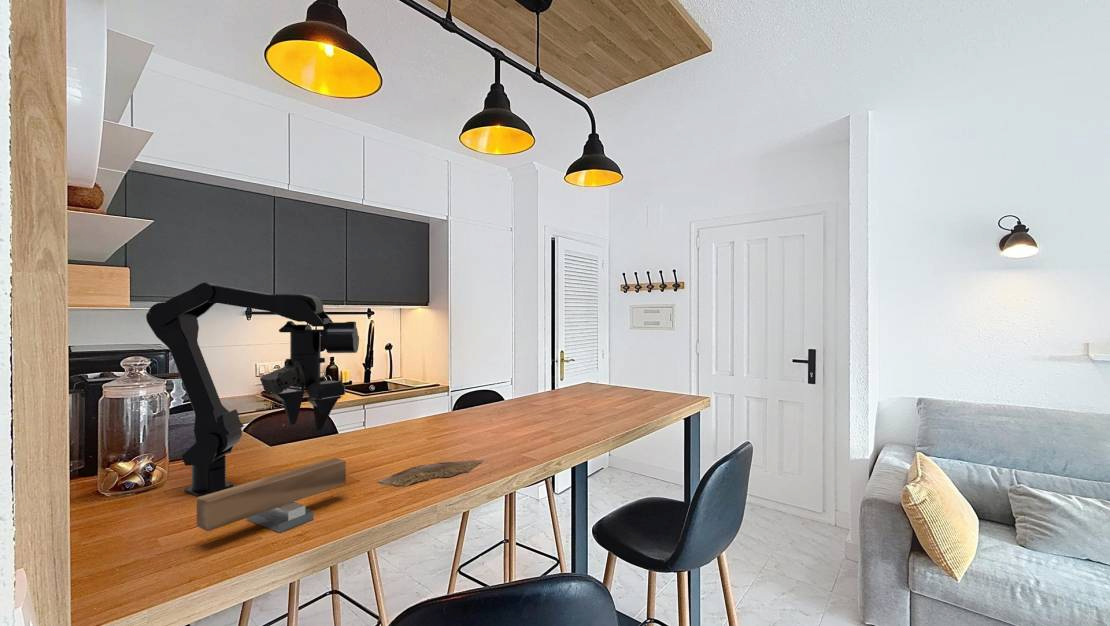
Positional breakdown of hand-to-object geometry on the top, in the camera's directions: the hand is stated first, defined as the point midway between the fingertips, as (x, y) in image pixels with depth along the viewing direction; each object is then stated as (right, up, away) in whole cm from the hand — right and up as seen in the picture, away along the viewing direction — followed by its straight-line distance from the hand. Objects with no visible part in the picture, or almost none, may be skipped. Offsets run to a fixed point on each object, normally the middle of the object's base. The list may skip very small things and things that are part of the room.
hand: (305, 427), depth 104 cm
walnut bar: (+4, -9, -18) cm, 20 cm away
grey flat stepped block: (+5, -12, -18) cm, 22 cm away
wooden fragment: (+26, -13, +8) cm, 30 cm away
